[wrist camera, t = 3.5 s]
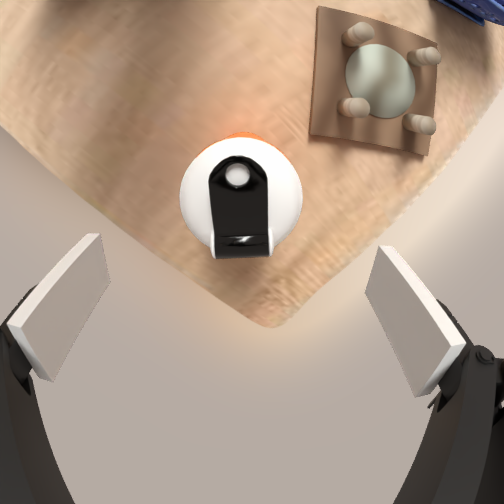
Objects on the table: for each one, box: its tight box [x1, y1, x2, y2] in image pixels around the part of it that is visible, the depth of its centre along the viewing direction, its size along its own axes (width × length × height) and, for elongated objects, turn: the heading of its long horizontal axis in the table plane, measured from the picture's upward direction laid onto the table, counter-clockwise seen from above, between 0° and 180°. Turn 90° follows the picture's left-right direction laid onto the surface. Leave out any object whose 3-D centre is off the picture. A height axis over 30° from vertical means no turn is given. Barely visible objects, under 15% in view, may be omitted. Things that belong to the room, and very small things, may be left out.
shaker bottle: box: [179, 132, 303, 259], centre depth 26 cm, size 9×9×20 cm
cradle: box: [309, 6, 441, 156], centre depth 27 cm, size 18×18×6 cm
